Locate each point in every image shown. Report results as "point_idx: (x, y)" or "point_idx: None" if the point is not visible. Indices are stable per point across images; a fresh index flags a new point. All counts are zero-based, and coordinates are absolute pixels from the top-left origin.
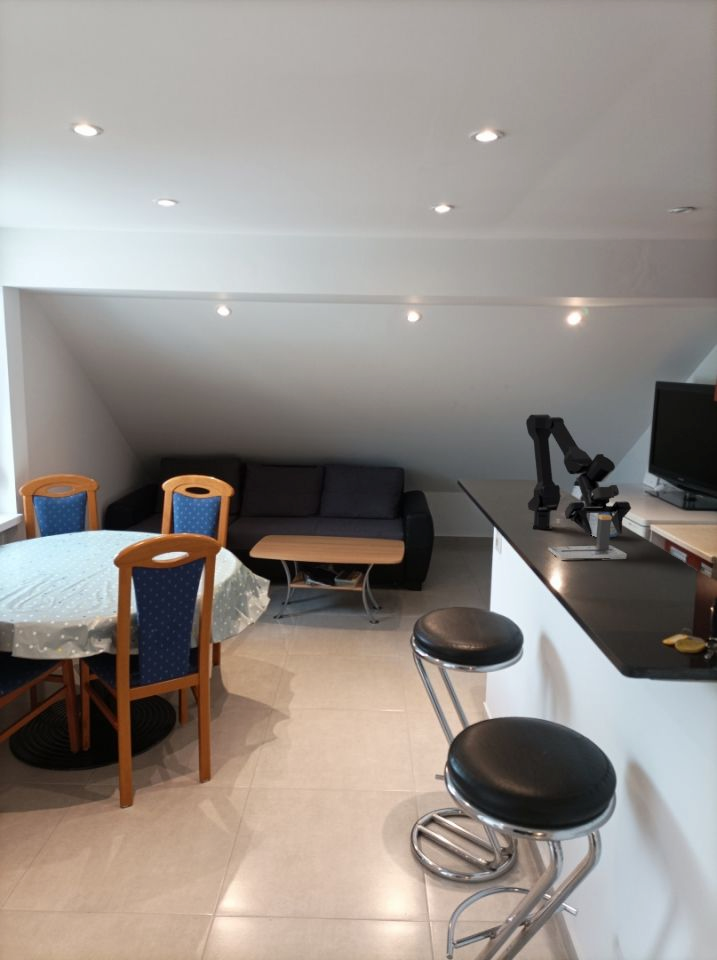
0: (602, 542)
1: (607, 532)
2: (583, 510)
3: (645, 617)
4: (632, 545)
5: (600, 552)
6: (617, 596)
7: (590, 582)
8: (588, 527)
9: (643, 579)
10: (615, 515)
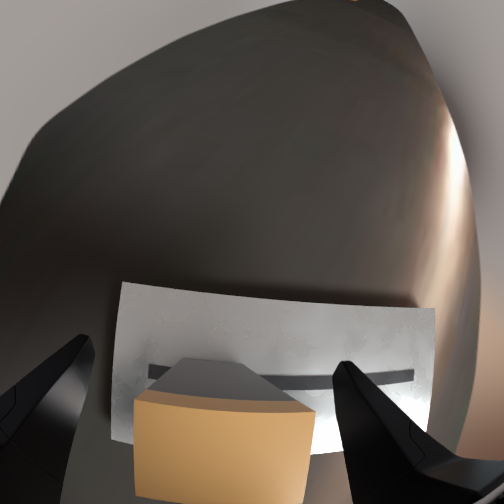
0: (228, 366)
1: (193, 372)
2: (498, 474)
3: (350, 17)
4: None
5: (248, 335)
6: (363, 56)
7: (395, 117)
8: (379, 393)
9: (244, 84)
10: (16, 496)
